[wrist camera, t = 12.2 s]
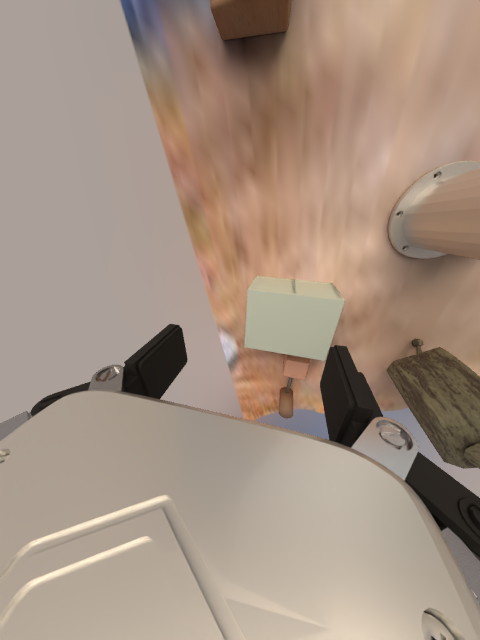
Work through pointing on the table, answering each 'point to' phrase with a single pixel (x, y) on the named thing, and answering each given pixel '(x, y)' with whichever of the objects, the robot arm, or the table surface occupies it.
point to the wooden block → (250, 17)
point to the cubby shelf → (292, 316)
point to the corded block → (291, 369)
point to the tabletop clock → (442, 402)
